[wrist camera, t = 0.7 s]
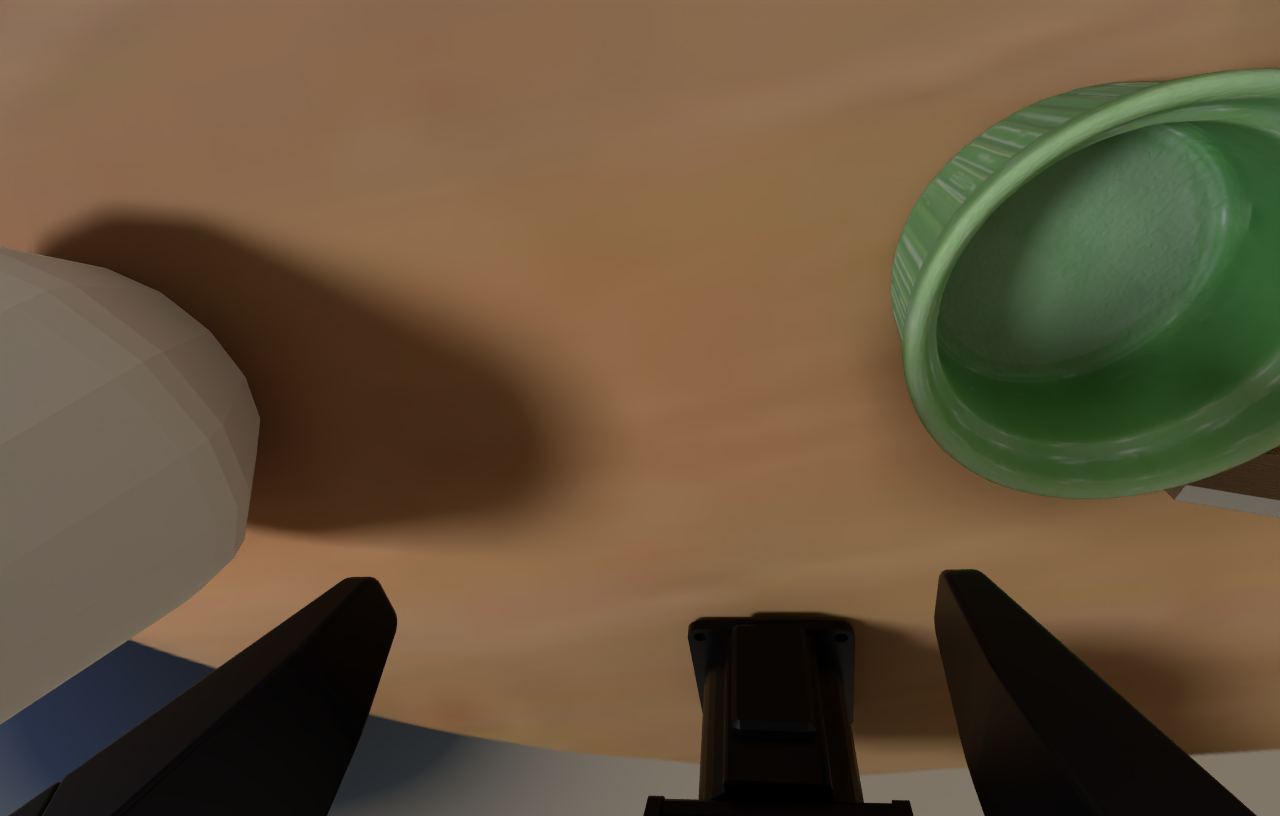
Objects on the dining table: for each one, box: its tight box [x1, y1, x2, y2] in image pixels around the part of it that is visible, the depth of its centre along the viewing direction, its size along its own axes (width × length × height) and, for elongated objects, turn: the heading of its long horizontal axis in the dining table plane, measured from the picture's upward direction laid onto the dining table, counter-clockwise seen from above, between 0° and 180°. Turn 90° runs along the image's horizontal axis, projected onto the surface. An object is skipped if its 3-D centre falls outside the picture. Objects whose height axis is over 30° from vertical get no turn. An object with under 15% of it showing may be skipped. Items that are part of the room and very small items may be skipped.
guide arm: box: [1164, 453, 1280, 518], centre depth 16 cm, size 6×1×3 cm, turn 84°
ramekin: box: [891, 68, 1280, 499], centre depth 14 cm, size 9×9×4 cm
